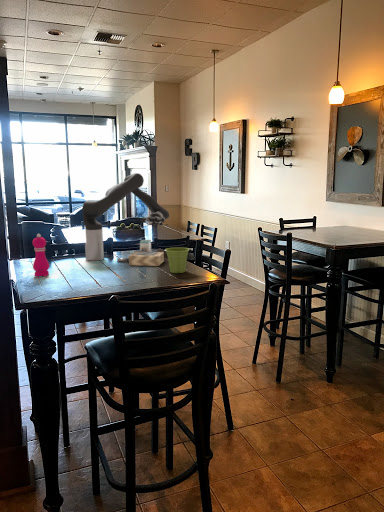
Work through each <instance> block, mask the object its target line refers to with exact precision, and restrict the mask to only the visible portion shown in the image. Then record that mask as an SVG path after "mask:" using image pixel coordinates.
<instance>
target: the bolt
mask: <svg viewBox="0 0 384 512" xmlns="http://www.w3.org/2000/svg"><path fill="white" fill-rule="evenodd" d="M129 256H130V255H128V257H123V258H117V263H129Z"/></svg>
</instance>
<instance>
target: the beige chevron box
mask: <svg viewBox="0 0 384 512" xmlns="http://www.w3.org/2000/svg"><path fill="white" fill-rule="evenodd" d="M164 255H165V252H164V251H151V252H140V251H134V252H132V253H131V254H129V255H128V256H129V262H128V264H129V266H148V267H149V266H152V267H153V266H154V267H155V266H157V267H158V266H160V265H161V264H162V263H163V262H164V260H165V259H164V258H165V257H164Z"/></svg>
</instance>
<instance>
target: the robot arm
mask: <svg viewBox="0 0 384 512" xmlns="http://www.w3.org/2000/svg"><path fill="white" fill-rule="evenodd" d="M144 180H145V179H144V177H143V175H142V174H141V173H136V172H135V173H132V174H129V175H127V176H125V178H124V179H123V182H120V183H117V184H116V185H113V186H112V187H110V188H108V189H107V191H106V192H105V196H104V197H103V198H101V199H98V200H91V199H90V200H85V201H84V202H83V204H82V219H83V224H84V226H85V227H84V229H85V243H84V249H85V251H84V252H85V261H102V260H104V259H105V258H104V237H103V236H104V235H103V224H102V223H100V222H99V221H98V220H97V218H99V217H102V216H103V215H105V214H106V212H108V210H109V209H111V208H112V207H114V206H115V205H117V204H118V203H119V202H120V201H122V200H123V199H125V198H126V197H127V196H128V195H130V193H132V194H133V195H134V196H135V197H137V199H139V200H140V201H141V202H142V203H143V204H144V205H145V206H146V208H147V209H148V210H149V211H150V213H151V214H150V215H149V216H146V217H141V218H140V222H141V223H143V224H145V223H147V224H149V223H150V224H151V225H152V226H156V225H160V224H161V223H165V222H166V220H167V219H168V218H170V213H169V211H168V210H167V209H165V208H164V207H163V206H161V205H160V204H159V203H158V202H157V200H156V198H154V197H153V196H151V195H150V194H148V193H146V192H144V191H143V190H141V189H140V188H141V187H142V186H143V184H144V182H145V181H144Z"/></svg>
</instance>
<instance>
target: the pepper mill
mask: <svg viewBox="0 0 384 512" xmlns="http://www.w3.org/2000/svg"><path fill="white" fill-rule="evenodd" d="M46 245H47V240H46V238H44V237H43V236H42V235H41V234H40V233H37V234H36V237H35V238H33V240H32V246H33V247H34V248H33V249H34V250H33V251H35V258H34V261H33V264H32V265H33V266H32V269H33V270H34V271H35V272H34V276H38V277H37V278H40V277H39V276H45V277H48V276H49V275H50V273H49V268H50V264H49V261H48V259H47V257H46V250H47V249H46V247H45V246H46ZM47 275H48V276H47Z"/></svg>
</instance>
